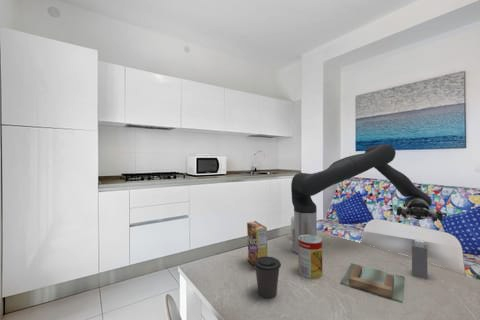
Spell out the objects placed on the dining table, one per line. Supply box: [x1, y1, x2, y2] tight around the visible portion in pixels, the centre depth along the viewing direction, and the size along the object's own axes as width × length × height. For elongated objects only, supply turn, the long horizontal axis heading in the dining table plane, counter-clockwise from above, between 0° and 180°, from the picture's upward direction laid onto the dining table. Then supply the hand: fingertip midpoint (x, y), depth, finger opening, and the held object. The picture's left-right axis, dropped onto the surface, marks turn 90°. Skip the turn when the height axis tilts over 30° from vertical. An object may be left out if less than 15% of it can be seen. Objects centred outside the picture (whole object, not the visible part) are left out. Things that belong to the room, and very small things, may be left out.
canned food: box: [298, 235, 323, 280], centre depth 79 cm, size 8×8×12 cm
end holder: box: [339, 263, 405, 303], centre depth 73 cm, size 16×16×2 cm
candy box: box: [246, 220, 269, 266], centre depth 85 cm, size 9×4×15 cm, turn 23°
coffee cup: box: [253, 256, 282, 300], centre depth 67 cm, size 8×8×10 cm
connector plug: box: [411, 238, 428, 280], centre depth 76 cm, size 4×4×12 cm
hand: (419, 217), depth 85 cm, fingers open, 8 cm apart
